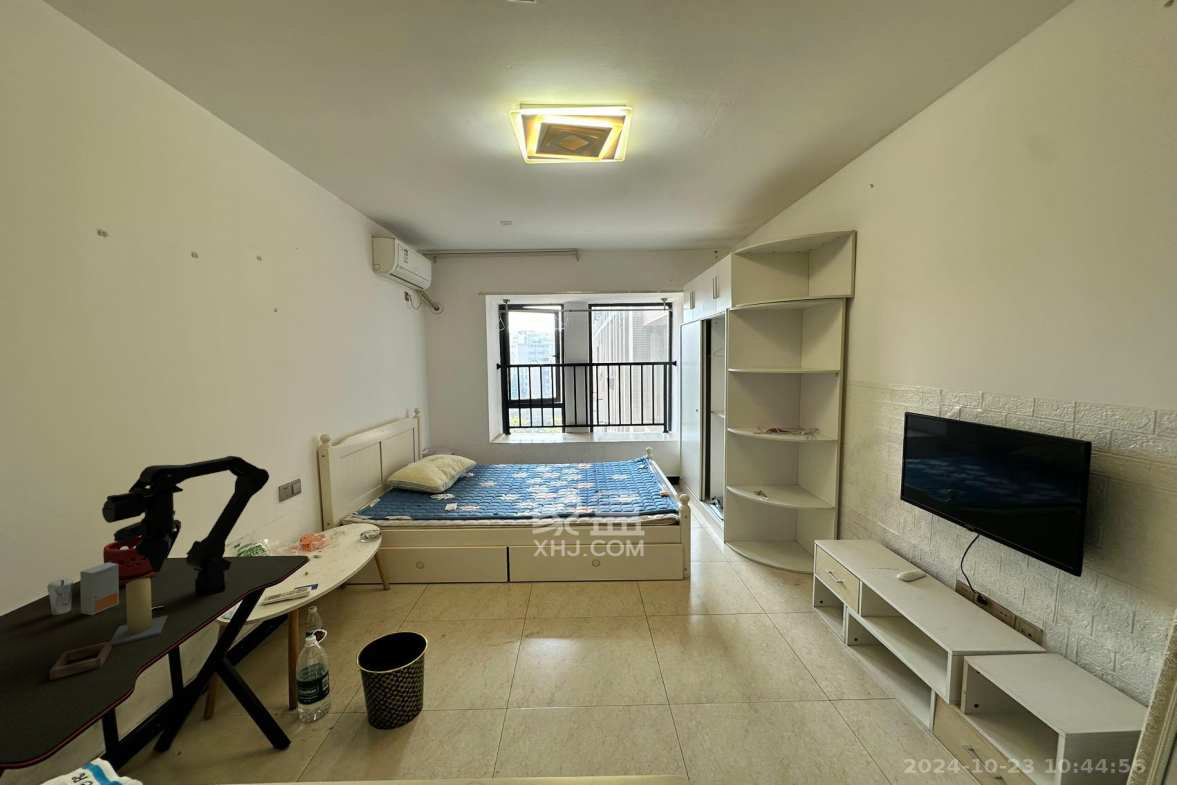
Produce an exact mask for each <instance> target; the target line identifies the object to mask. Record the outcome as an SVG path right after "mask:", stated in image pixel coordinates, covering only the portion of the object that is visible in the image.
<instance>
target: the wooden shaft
mask: <svg viewBox="0 0 1177 785" xmlns="http://www.w3.org/2000/svg"><path fill="white" fill-rule="evenodd" d="M151 583H152V582H151V577H150V578H142V579H137V580H134V581H131V582H129V583H127V584H126V585H125V593H126V594H125V598H126V600H125V602H126V603H125V604H126V624H127V633H128V634H137V633H141V632H143V631H146V630H148V629H149V628H151V627H152V619H153V617H152V614H153V613H152V612H153V610H152V586H151V585H152V584H151Z"/></svg>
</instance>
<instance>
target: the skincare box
mask: <svg viewBox="0 0 1177 785" xmlns="http://www.w3.org/2000/svg"><path fill="white" fill-rule="evenodd" d="M79 574H80V575H79V577H80V582H79V585H80V613H81V614H84V615H89V616H93V615H96V614H97V613H100V612H103V611H105V610H107V609H111V608H112V607H116V606H118V605H120V604H119V603H120V601H119V598H120V593H119V590H120V589H119V586H120V585H119V576H118V575H119V574H118V564H114V563H109V562H108V563H105V564H104V563H102V564H98V565H95V566H91V567H90V568H87V569H85V570H81V571H80V572H79Z"/></svg>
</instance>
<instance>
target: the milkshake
mask: <svg viewBox="0 0 1177 785" xmlns="http://www.w3.org/2000/svg"><path fill="white" fill-rule="evenodd" d="M73 587H74V580H73V579H72V578H70V577H63V578H59V579H56V580H53V581H51V582H50V583H48V585H47V586H46V588H47V592H48V596H49V602H50V607H51V614H52V615H53V616H59V615H63V614H67V613H69V611H71V610H72V601H73V600H72V599H73Z"/></svg>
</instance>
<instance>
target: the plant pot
mask: <svg viewBox="0 0 1177 785" xmlns="http://www.w3.org/2000/svg"><path fill="white" fill-rule="evenodd" d="M146 538H150V536H149V537H146ZM143 539H144V538H141V536H139V537H137V538H134V539H132V540H129V541H127V542H126V543H123V544H119V543H118V541H113V542H111V543H108V544H107V545H105V546H104V548H103V551H102V552H103V553H102V556H103V564H105V563H108V562H109V563H114V564H118V574H119V575H118V576H119V586H122V585H123V586H124V585H125V586H126V584H127V583H129V582H131V581H134V580H137V579H142V578H150V579H151V577H153V576H154V575H156V574H157V573H158V572H156V573H154V572H153V569H152V567H151V565H150V563H149V560H148V559H147V557H145V556H143V555H138V554H136V549H135V547H136V546H137V544H138V543H139V542H140V541H141V540H143ZM123 547H127V548H126V549H125V548H124V549H122V548H123Z"/></svg>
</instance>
